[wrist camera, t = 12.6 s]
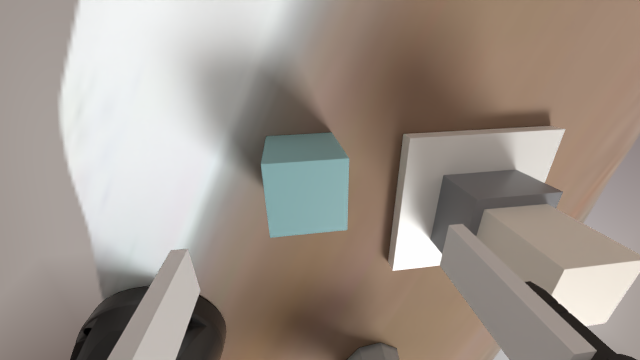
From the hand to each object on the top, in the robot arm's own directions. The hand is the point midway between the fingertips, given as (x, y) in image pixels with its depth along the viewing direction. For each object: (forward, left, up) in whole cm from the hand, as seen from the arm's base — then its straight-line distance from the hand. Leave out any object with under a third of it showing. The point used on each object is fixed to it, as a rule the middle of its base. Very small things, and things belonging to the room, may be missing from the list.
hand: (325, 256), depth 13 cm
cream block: (+18, -6, -7) cm, 20 cm away
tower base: (+18, -6, -13) cm, 23 cm away
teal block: (0, 0, -13) cm, 13 cm away
